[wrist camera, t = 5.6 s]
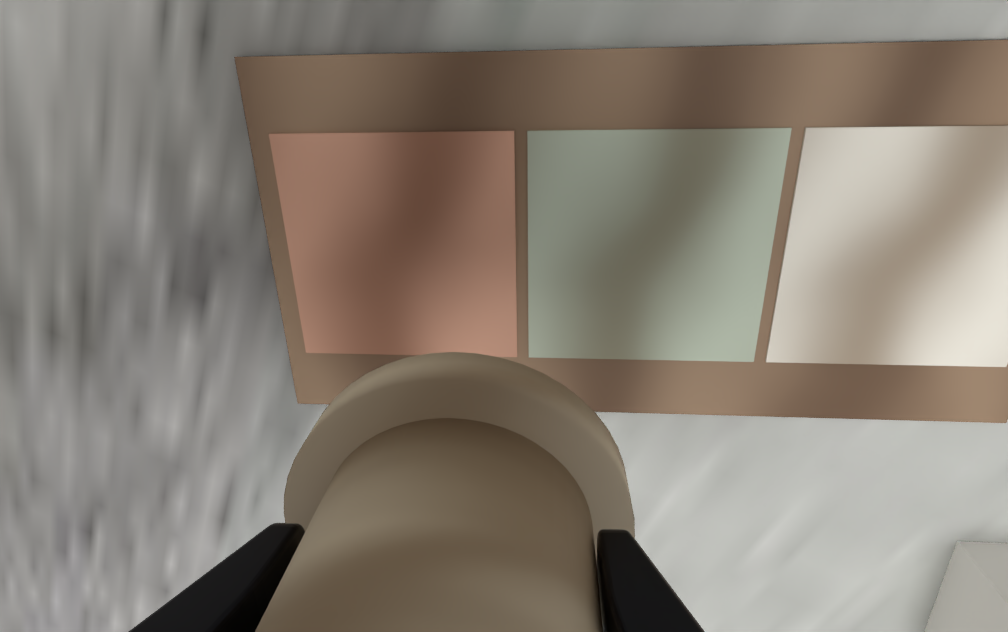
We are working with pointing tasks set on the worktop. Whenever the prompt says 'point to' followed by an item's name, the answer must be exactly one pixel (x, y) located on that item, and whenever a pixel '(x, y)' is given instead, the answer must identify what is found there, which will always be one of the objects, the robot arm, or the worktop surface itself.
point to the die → (973, 590)
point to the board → (650, 221)
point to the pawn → (450, 504)
